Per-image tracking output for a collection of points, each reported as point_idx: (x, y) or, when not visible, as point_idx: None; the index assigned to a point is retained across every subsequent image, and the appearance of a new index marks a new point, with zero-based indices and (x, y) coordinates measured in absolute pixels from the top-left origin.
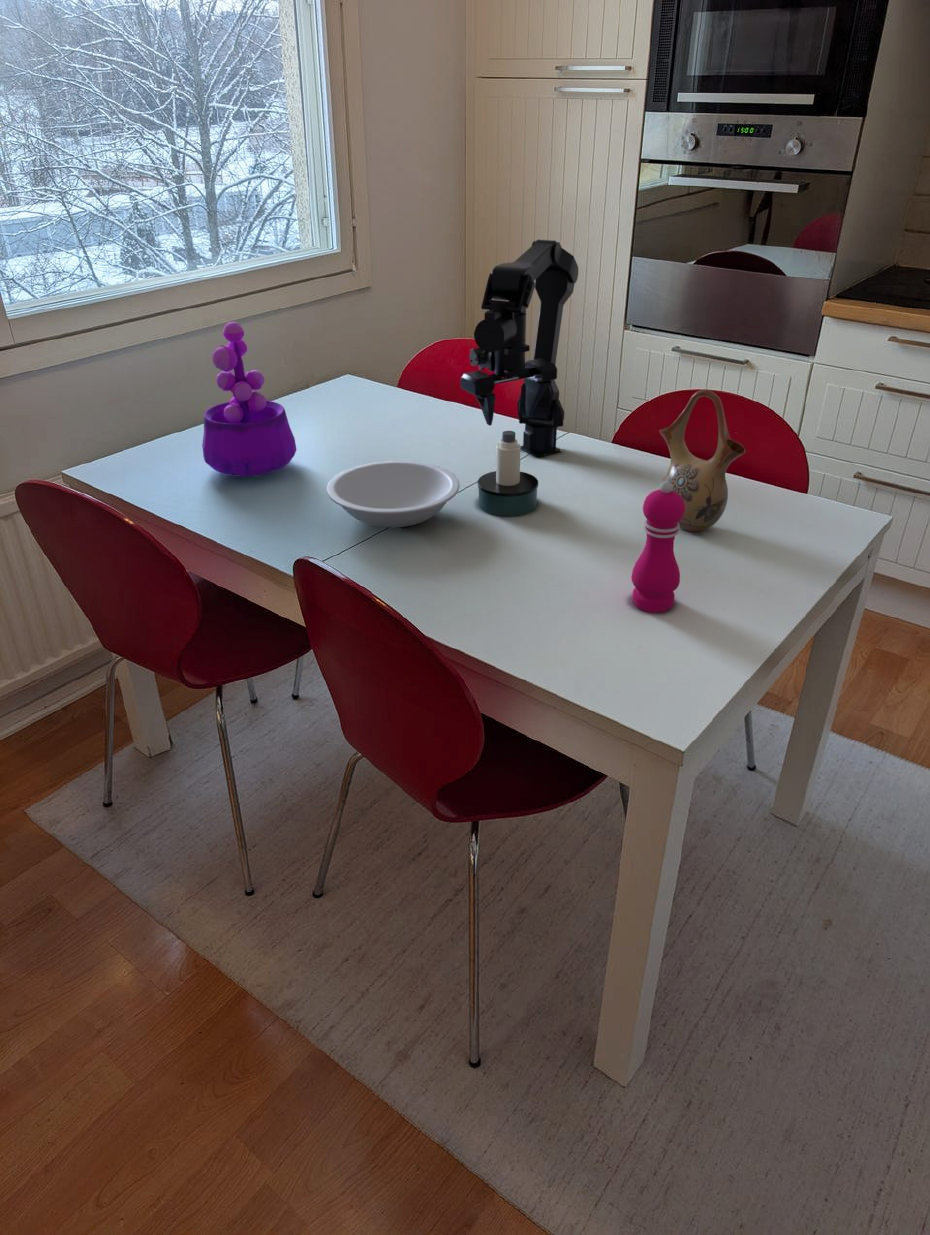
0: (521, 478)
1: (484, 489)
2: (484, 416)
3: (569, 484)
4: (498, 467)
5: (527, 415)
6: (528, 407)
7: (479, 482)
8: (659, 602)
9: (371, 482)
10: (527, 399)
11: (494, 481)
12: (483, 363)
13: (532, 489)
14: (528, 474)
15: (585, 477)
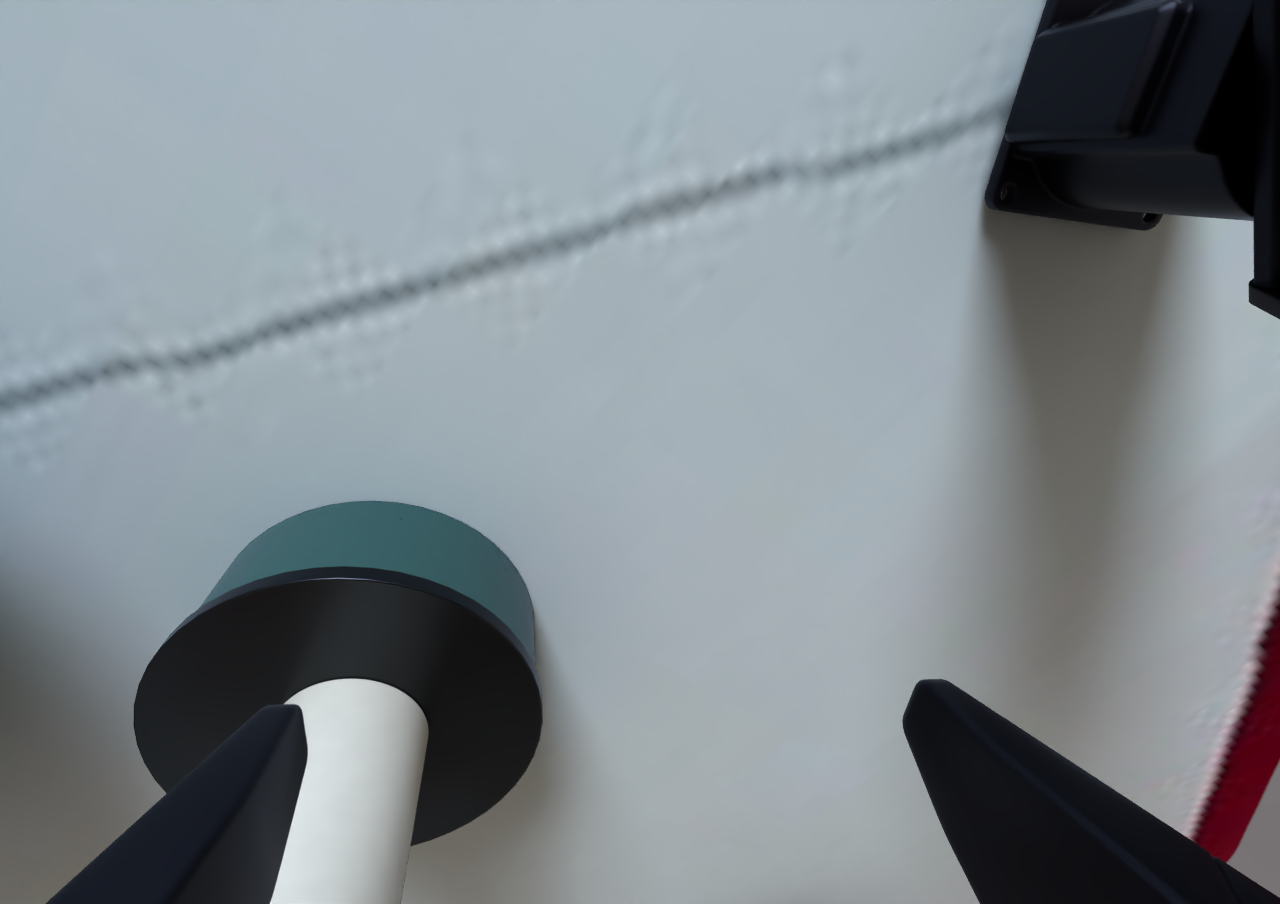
0: (455, 730)
1: (144, 758)
2: (156, 813)
3: (790, 593)
4: None
5: (911, 704)
6: (977, 812)
7: (155, 678)
8: None
9: None
10: (1092, 892)
11: (269, 703)
12: None
13: (419, 842)
14: (530, 704)
15: (905, 569)
